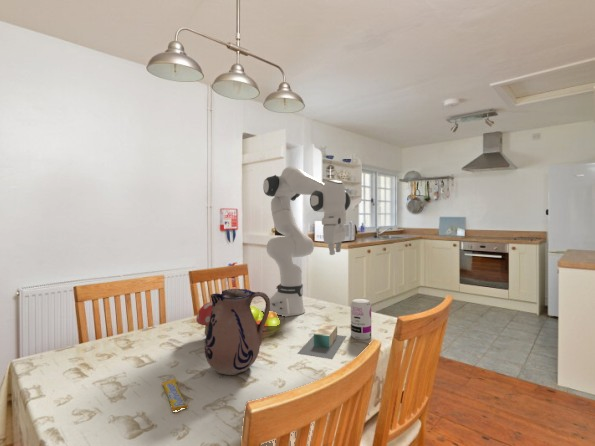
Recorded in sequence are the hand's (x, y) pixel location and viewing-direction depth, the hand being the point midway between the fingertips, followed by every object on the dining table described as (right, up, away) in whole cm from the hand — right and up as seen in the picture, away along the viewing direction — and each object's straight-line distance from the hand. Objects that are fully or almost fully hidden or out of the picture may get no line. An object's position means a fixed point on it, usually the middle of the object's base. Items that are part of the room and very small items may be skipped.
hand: (335, 253), depth 131 cm
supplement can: (+10, -34, -1) cm, 36 cm away
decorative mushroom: (-50, -35, -1) cm, 61 cm away
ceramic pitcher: (-35, -35, -26) cm, 56 cm away
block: (-7, -32, -11) cm, 34 cm away
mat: (-6, -34, -9) cm, 36 cm away
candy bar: (-50, -37, -43) cm, 75 cm away
